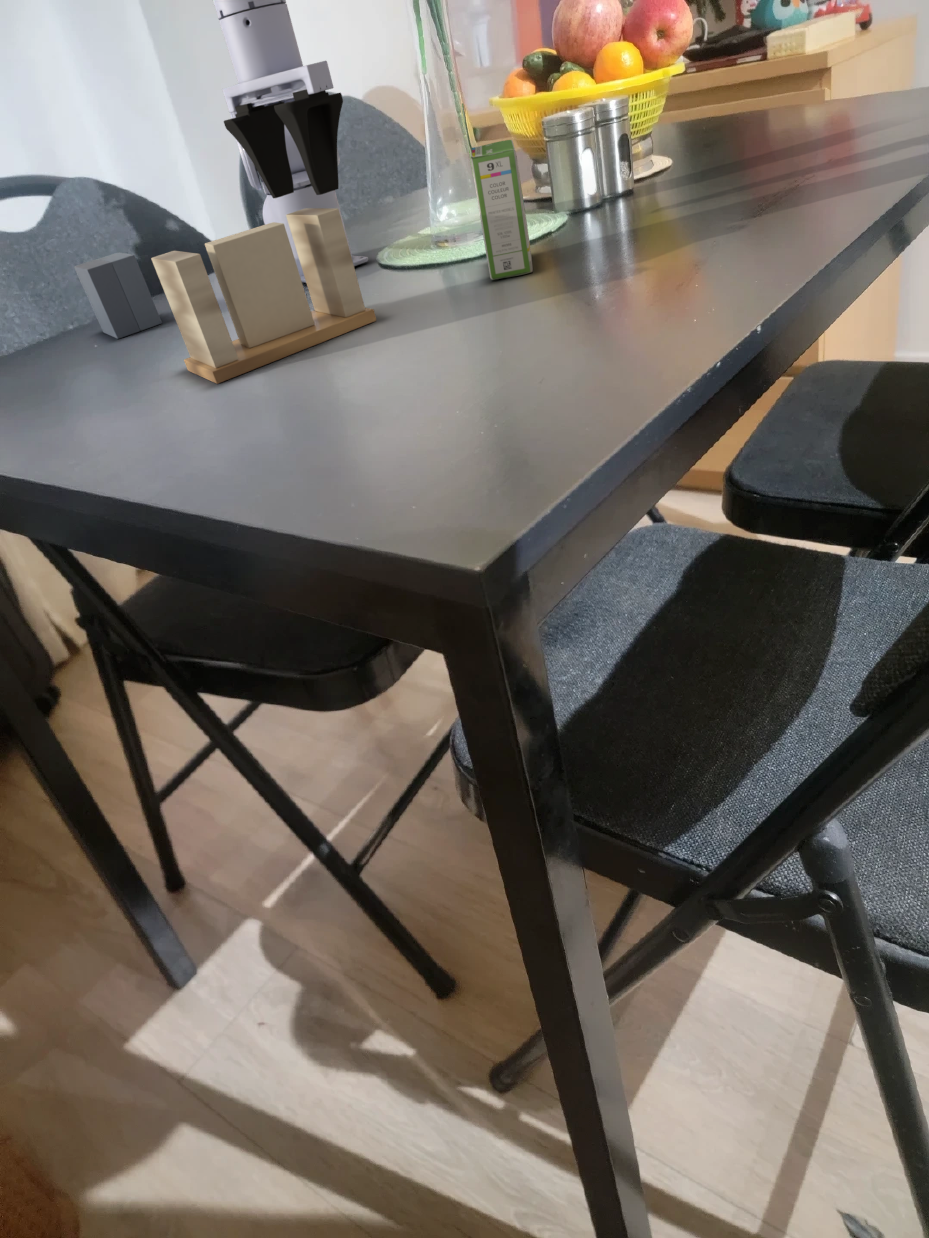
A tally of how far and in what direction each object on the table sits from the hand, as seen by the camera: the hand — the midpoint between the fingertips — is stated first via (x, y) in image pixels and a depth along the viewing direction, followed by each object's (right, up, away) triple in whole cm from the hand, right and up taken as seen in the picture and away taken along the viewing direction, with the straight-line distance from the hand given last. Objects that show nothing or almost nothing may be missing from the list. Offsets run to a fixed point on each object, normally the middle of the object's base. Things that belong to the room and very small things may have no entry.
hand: (304, 194), depth 75 cm
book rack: (-1, -16, -5) cm, 16 cm away
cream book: (-1, -15, -6) cm, 16 cm away
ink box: (+19, -7, 0) cm, 20 cm away
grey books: (-21, -7, +14) cm, 27 cm away
